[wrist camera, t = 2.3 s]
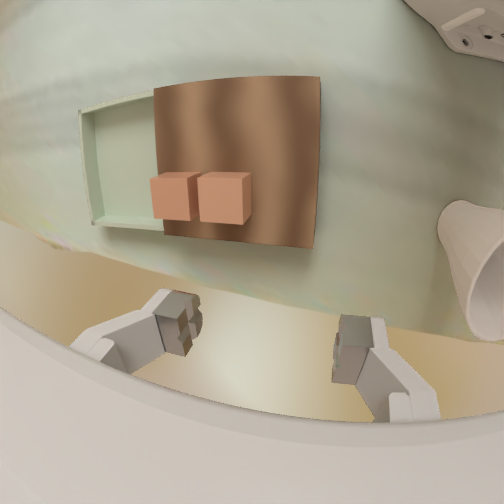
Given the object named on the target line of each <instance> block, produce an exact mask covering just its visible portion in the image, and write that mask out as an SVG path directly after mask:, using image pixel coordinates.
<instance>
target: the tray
mask: <svg viewBox="0 0 504 504" xmlns="http://www.w3.org/2000/svg"><path fill="white" fill-rule="evenodd" d="M78 121H79V137H80V149H81V159H82V168H83V176H84V183H85V190H86V196H87V202H88V208H89V213H90V218H91V223H92V225H93V226H107V227H120V228H133V229H146V230H158V231H164V226H163V219H154V213H153V205H152V197H151V188H150V178H152V177H155V176H158V170H157V157H156V143H155V123H154V90H153V91H148V92H143V93H139V94H135V95H130V96H126V97H122V98H118V99H115V100H111V101H107V102H104V103H100V104H97V105H94V106H91V107H87V108H84V109H81V110H78Z"/></svg>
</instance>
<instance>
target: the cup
mask: <svg viewBox="0 0 504 504" xmlns="http://www.w3.org/2000/svg"><path fill="white" fill-rule="evenodd" d="M437 232H438V236H439V240H440V241H441V243H442V245H443V247H444V249H445V251H446V253H447V257H448V261H449V266H450V271H451V275H452V279H453V283H454V286H455V290H456V294H457V297H458V301H459V305H460V308H461V310H462V313H463V315H464V318H465V320H466V323H467V325H468V327H469V329H470V331H471V332H472V334H473V335H475V336H476V337H478V338H479V339H481V340H485V341H490V342H491V341H500V340H503V339H504V210H503V209H496V208H487V207H482V206H477V205H474V204H472V203H470V202H468V201H465V200H457V201H454V202H452V203H450V204H449V205H448V206H447V207H445V208H444V210H443V211H442V213H441V215H440V217H439V220H438V225H437Z"/></svg>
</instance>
